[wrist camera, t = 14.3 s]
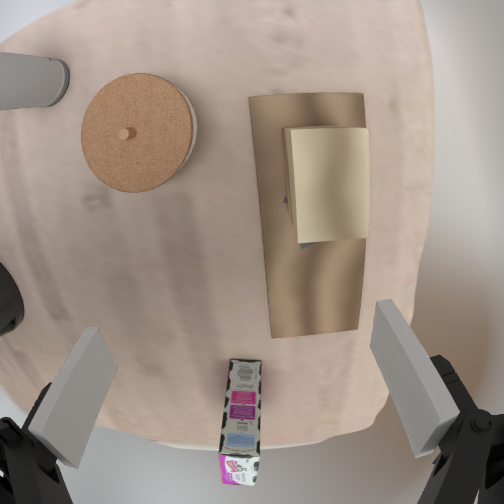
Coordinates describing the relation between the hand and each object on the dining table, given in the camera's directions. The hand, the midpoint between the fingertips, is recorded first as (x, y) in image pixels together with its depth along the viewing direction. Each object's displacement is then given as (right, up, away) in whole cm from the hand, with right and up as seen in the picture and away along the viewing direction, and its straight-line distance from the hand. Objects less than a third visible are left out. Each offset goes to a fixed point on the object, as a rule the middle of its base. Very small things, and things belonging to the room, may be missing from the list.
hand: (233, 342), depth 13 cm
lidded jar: (-9, +17, +17) cm, 26 cm away
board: (+8, +7, +21) cm, 23 cm away
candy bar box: (0, -17, +32) cm, 36 cm away
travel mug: (-24, +25, +13) cm, 37 cm away
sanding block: (+7, +13, +17) cm, 23 cm away
